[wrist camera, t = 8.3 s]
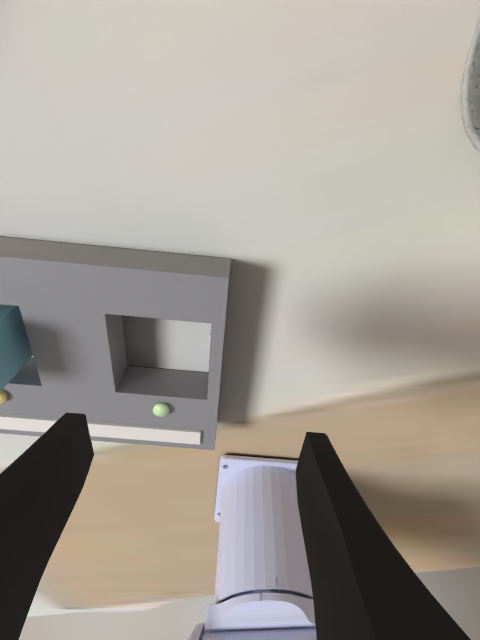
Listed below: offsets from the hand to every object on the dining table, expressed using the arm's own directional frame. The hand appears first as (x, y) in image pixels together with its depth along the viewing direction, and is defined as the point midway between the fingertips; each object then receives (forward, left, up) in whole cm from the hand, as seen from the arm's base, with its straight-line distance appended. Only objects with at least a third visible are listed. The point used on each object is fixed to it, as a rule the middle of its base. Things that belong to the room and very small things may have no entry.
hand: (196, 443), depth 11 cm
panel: (-4, +8, -10) cm, 14 cm away
